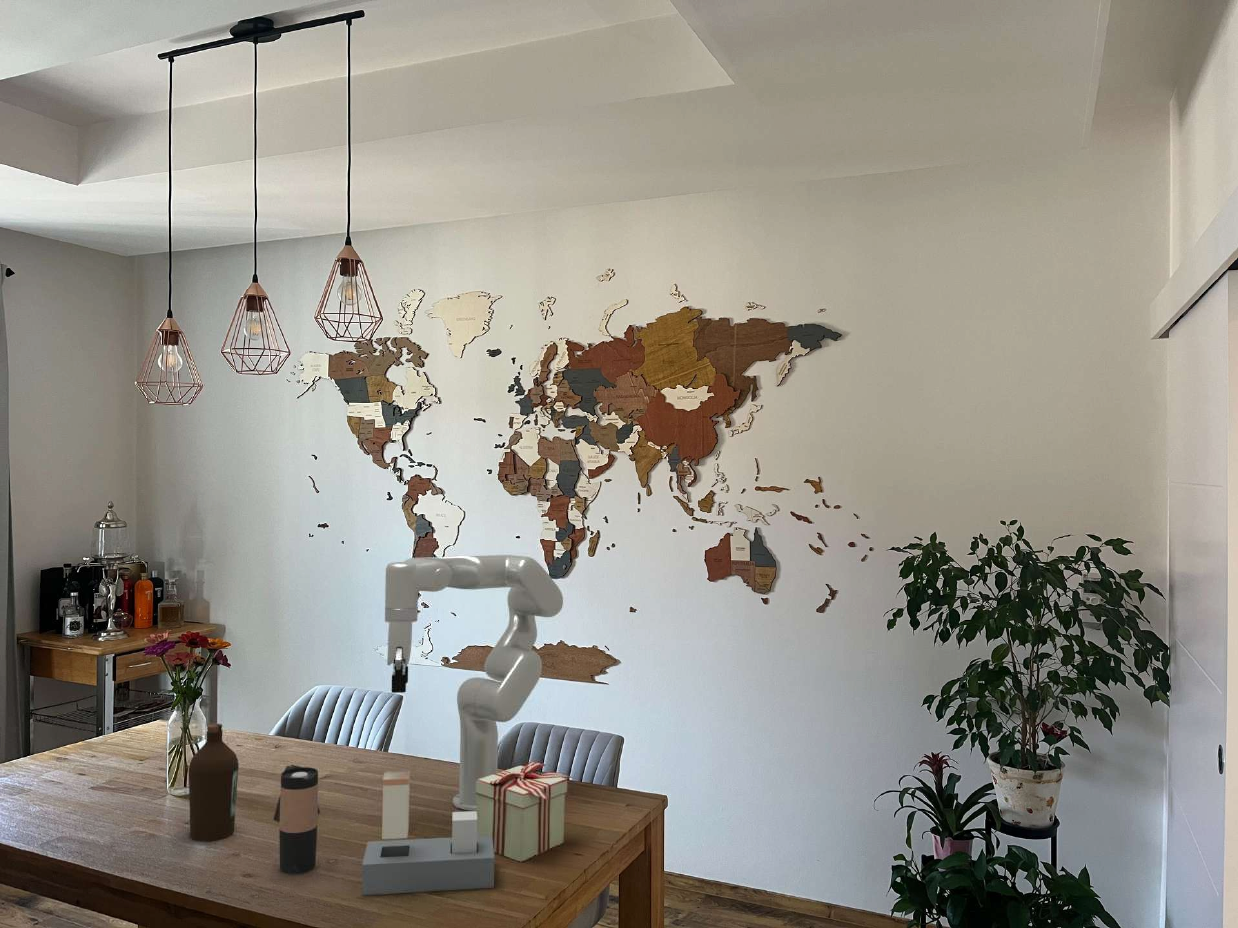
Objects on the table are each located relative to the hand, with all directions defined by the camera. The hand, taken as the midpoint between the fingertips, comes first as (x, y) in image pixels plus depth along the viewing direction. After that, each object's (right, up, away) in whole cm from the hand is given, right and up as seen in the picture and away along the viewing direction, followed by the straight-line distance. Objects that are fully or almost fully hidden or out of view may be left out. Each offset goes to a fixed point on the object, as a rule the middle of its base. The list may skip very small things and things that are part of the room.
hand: (399, 687), depth 221 cm
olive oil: (-42, -33, -5) cm, 53 cm away
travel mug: (-16, -33, -22) cm, 43 cm away
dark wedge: (-27, -33, +7) cm, 43 cm away
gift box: (+31, -34, -9) cm, 47 cm away
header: (+12, -33, -27) cm, 45 cm away
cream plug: (+6, -24, -28) cm, 37 cm away
